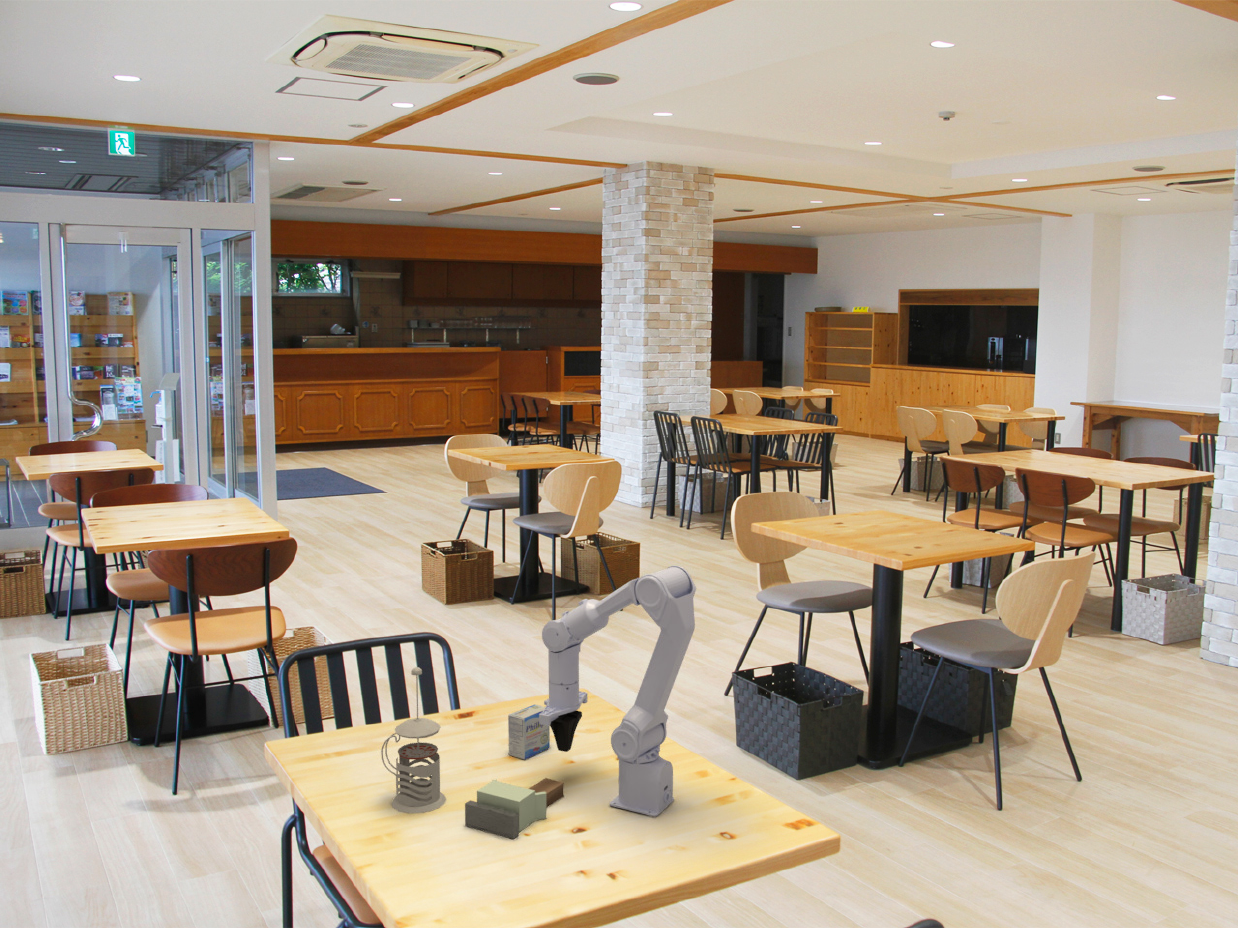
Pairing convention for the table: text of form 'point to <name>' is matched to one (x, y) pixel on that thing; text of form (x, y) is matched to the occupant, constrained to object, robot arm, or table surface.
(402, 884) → the table surface
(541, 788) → the walnut bar
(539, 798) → the tunnel block
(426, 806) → the french press
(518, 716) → the medicine box
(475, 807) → the rail
